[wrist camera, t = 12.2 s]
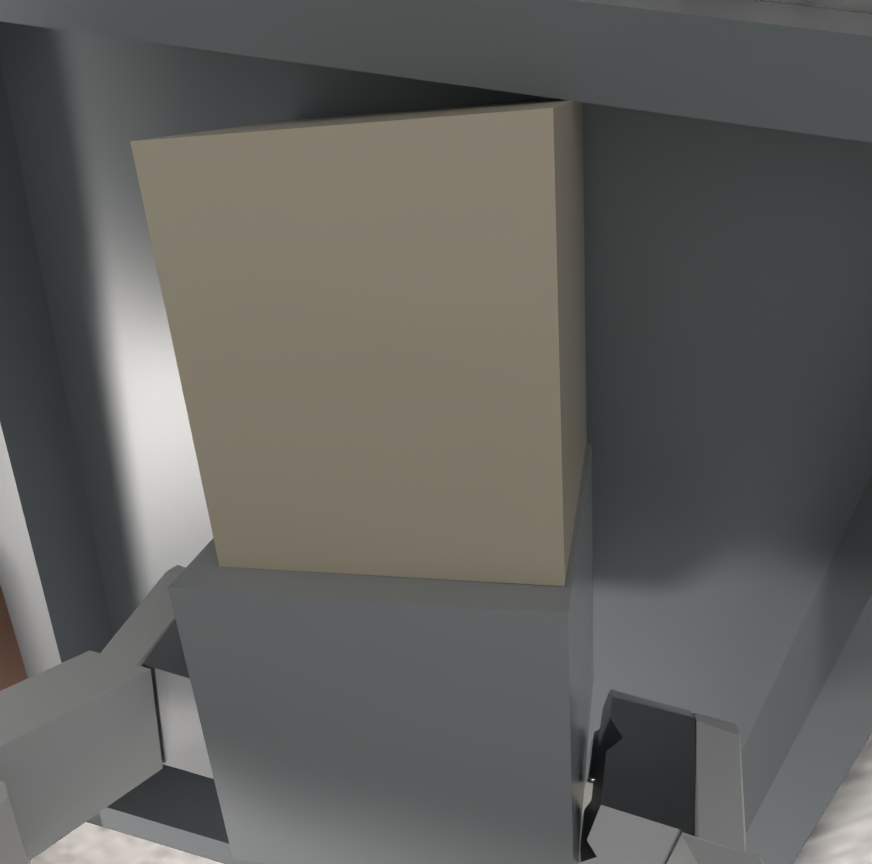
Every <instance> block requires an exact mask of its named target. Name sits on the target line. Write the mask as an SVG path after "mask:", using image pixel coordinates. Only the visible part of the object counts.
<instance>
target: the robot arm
mask: <svg viewBox="0 0 872 864" xmlns="http://www.w3.org/2000/svg"><path fill="white" fill-rule="evenodd" d="M185 568H186V567H183V566H180V565H176V566H175V567H173V568H171V569H170V570H168V571H167V572H165V574H164V575H163V576H162V577H161V579H160V580H159V581H158V582H157V584H156V585H155V586H154V587H153V589H152V590H151V591H150V592H149V593H148V595H147V596H146V597H145V598H144V600H143V601H142V602H141V603H140V605H139V606H138V607H137V608H136V610H135V611H134V612H133V613H132V614H131V616H130V617H129V618H128V619H127V621H126V622H125V623H124V624H123V626H122V627H121V628H120V629H119V631H118V632H117V633H116V634H115V635H114V637H113V638H112V639H111V640H110V642H109V643H108V644H107V645H106V647H105V648H104V649H103V650H102V652H101V653H98V652H94V651H91V650H89V651H87V652H85V653H83V654H80V655H78V656H76V657H74V658H72V659H69V660H67V661H65V662H63V663H61V664H58V665H56V666H54V667H52V668H50V669H47V670H45V671H43V672H41V673H39V674H36V675H34V676H32V677H30V678H28V679H25V680H23V681H21V682H19V683H17V684H15V685H12V686H10V687H8V688H6V689H4V690H1V691H0V864H30V860H31V859H32V858H34V857H35V856H37V855H38V854H40V853H41V852H43V851H44V850H45V849H47V848H48V847H50V846H51V845H53V844H54V843H56V842H57V841H58V840H60V839H61V838H63V837H64V836H66V835H67V834H69V833H70V832H71V831H73V830H74V829H76V828H77V827H79V826H80V825H82V824H83V823H84V822H86V821H87V820H89V819H90V818H92V817H93V816H95V815H96V814H97V813H99V812H100V811H102V810H103V809H105V808H106V807H108V806H109V805H110V804H112V803H113V802H115V801H116V800H118V799H119V798H121V797H122V796H123V795H125V794H126V793H128V792H129V791H131V790H132V789H134V788H135V787H136V786H138V785H139V784H141V783H142V782H144V781H145V780H147V779H148V778H149V777H151V776H152V775H154V774H155V773H157V772H158V771H160V770H161V769H162V768H163V765H162V764H164V765H168V766H171V767H175V768H178V769H181V770H185V771H188V772H191V773H195V774H198V775H202V776H205V777H208V778H212V779H214V777H213V773H212V769H211V765H210V761H209V757H208V752H207V748H206V744H205V740H204V736H203V732H202V727H201V723H200V719H199V715H198V711H197V707H196V702H195V698H194V694H193V690H192V686H191V681H190V677H189V673H188V669H187V665H186V661H185V656H184V652H183V648H182V644H181V640H180V636H179V631H178V627H177V623H176V619H175V615H174V610H173V606H172V602H171V598H170V594H169V590H168V587H169V586H170V585H171V583H172V582H173V581H174V580H175V579H176V578H177V577H178V576H179V575H180V574H181V573H182V571H183V570H184V569H185ZM578 864H764V862H763V861H762V859H761V858H760V857H759V856H756V855H754V854H751V853H748V852H747V850H746V832H745V814H744V796H743V778H742V761H741V743H740V732H739V730H738V727H737V725H736V724H734V723H730V722H727V721H723V720H720V719H716V718H712V717H709V716H705V715H702V714H698V713H695V712H694V713H692V712H691V711H689V710H686V709H682V708H678V707H675V706H671V705H667V704H664V703H660V702H656V701H653V700H649V699H645V698H642V697H638V696H634V695H631V694H627V693H623V692H619V691H616V690H612V689H611V690H610V692H609V693H608V695H607V698H606V701H605V703H604V706H603V709H602V717H601V725H600V729H599V730H597V731H595V732H594V735H593V738H592V741H591V745H590V748H589V751H588V755H587V762H586V774H585V786H584V798H583V810H582V823H581V835H580V847H579V859H578Z"/></svg>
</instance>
